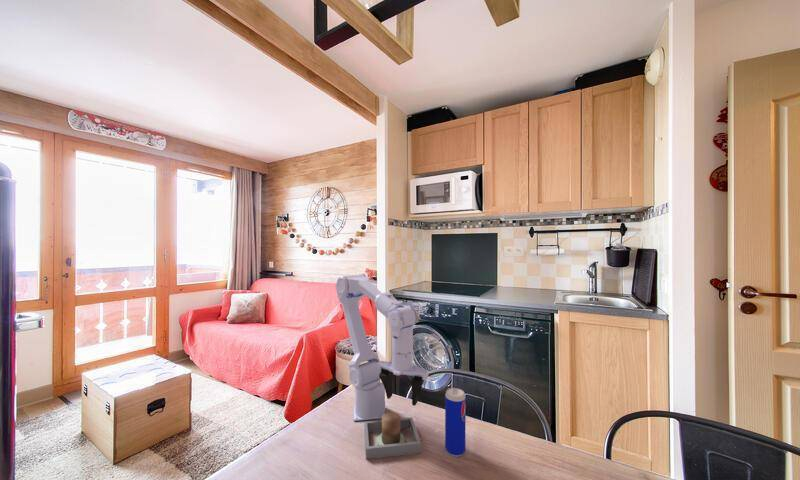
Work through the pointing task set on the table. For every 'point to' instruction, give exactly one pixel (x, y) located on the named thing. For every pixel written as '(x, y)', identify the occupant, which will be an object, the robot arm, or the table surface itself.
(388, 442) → the walnut cylinder
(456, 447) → the beverage can
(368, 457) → the grey rectangular frame
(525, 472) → the table surface
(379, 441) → the coaster
